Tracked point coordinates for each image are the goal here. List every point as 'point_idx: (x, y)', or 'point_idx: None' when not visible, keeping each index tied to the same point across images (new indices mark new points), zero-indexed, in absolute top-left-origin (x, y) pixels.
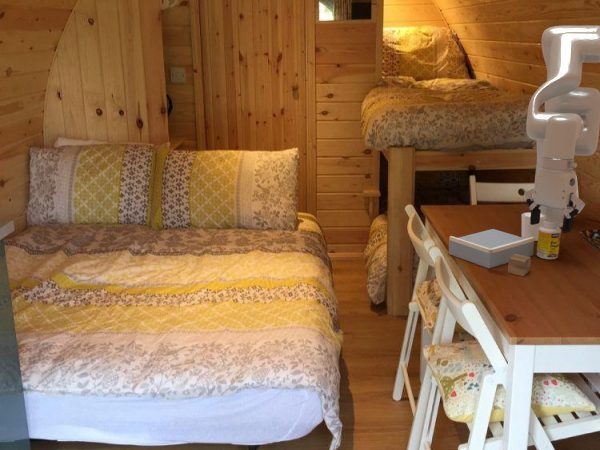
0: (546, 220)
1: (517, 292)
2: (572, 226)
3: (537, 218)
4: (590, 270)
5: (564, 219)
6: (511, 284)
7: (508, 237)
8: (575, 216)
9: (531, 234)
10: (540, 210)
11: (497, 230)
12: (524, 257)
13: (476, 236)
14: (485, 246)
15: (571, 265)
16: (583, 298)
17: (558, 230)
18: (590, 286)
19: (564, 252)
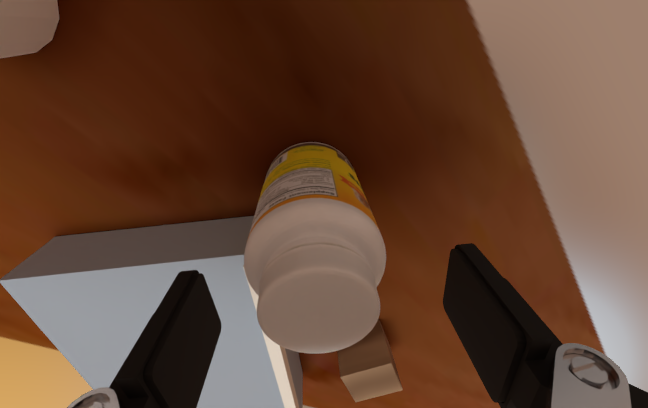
0: (297, 337)
1: (440, 395)
2: (513, 289)
3: (196, 326)
4: (512, 160)
5: (504, 400)
6: (405, 384)
7: None
8: (599, 358)
9: (19, 44)
10: (154, 371)
11: (35, 280)
12: (380, 375)
13: None
14: (237, 403)
15: (433, 178)
16: (566, 328)
17: (382, 265)
18: (559, 268)
19: (307, 54)
